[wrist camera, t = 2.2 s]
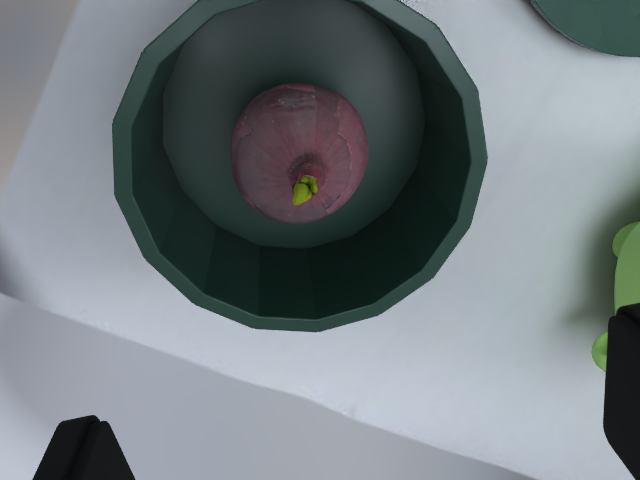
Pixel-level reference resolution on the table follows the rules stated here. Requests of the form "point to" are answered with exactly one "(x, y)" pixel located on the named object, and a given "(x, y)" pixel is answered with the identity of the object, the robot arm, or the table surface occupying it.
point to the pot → (332, 230)
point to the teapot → (622, 281)
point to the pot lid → (596, 23)
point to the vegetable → (298, 152)
